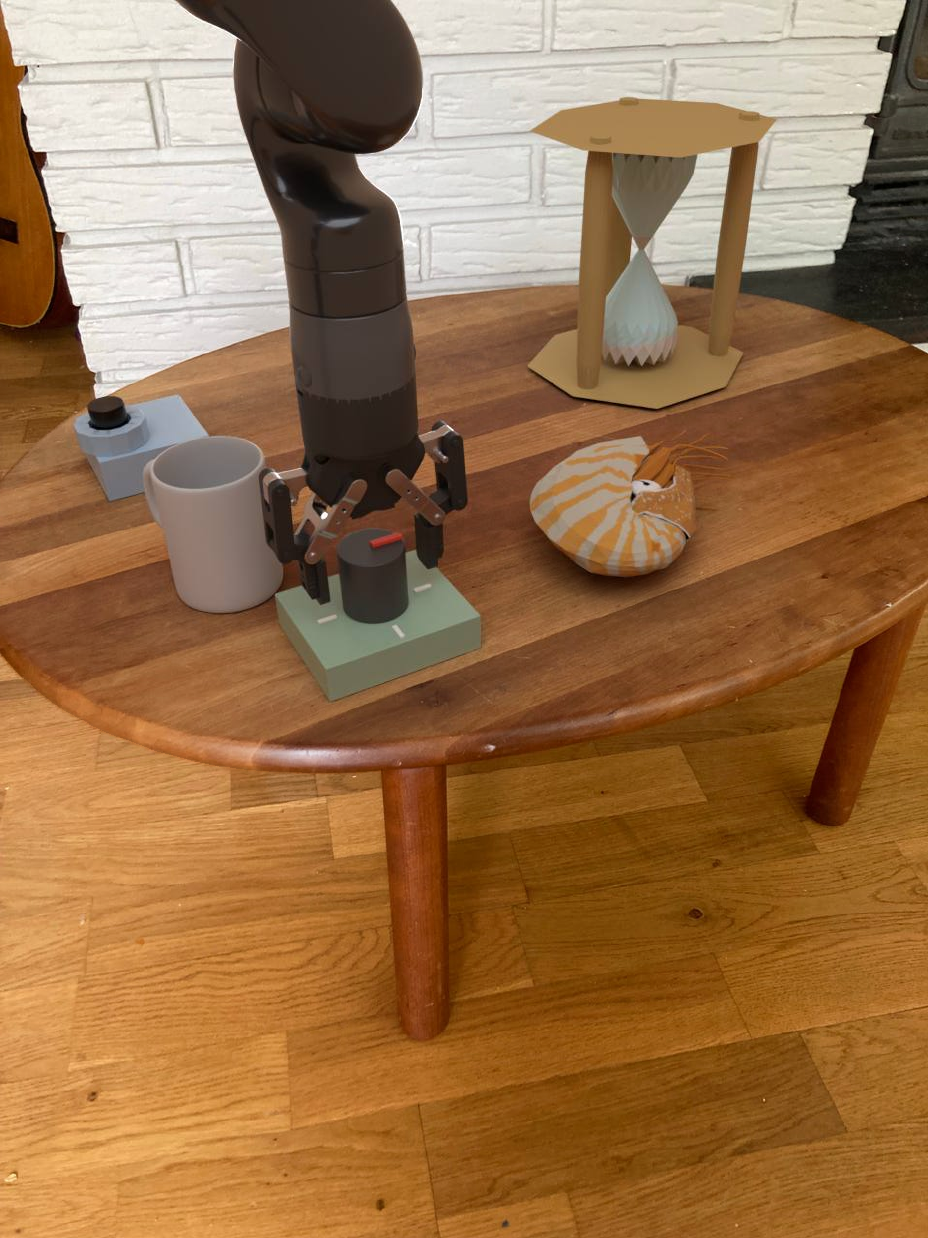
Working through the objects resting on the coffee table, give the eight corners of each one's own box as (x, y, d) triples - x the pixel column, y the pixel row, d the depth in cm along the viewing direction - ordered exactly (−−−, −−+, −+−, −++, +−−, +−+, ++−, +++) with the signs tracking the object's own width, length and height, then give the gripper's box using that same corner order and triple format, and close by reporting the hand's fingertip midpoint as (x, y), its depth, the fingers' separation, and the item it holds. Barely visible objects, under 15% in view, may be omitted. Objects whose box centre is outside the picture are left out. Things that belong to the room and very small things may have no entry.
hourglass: (612, 308, 128) (626, 83, 113) (778, 354, 116) (820, 110, 101) (489, 372, 114) (487, 126, 99) (664, 431, 102) (692, 162, 87)
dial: (358, 631, 73) (352, 569, 70) (332, 596, 77) (325, 536, 73) (420, 611, 75) (416, 549, 72) (391, 577, 78) (386, 517, 75)
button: (96, 435, 92) (91, 414, 91) (88, 421, 94) (83, 400, 93) (132, 427, 93) (127, 406, 92) (123, 413, 96) (118, 392, 94)
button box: (99, 504, 94) (83, 444, 90) (76, 457, 101) (60, 400, 97) (216, 473, 98) (205, 415, 94) (185, 430, 105) (174, 374, 101)
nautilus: (677, 469, 97) (795, 551, 88) (485, 527, 88) (594, 625, 78) (694, 391, 92) (820, 468, 83) (492, 443, 83) (609, 537, 73)
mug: (306, 573, 84) (289, 452, 78) (231, 627, 79) (206, 503, 72) (200, 530, 90) (176, 414, 83) (124, 578, 84) (92, 458, 78)
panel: (330, 702, 72) (325, 667, 70) (279, 625, 79) (274, 591, 77) (481, 647, 76) (481, 613, 74) (420, 579, 83) (418, 546, 81)
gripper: (429, 324, 70) (439, 528, 80) (225, 371, 65) (262, 583, 75) (484, 364, 65) (487, 577, 74) (266, 418, 59) (300, 640, 69)
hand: (374, 580), depth 75 cm, fingers open, 8 cm apart
